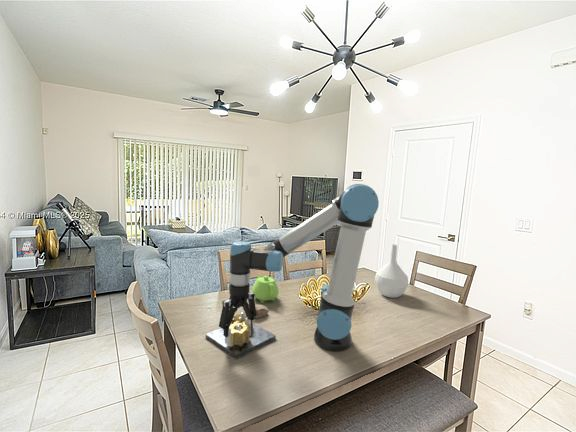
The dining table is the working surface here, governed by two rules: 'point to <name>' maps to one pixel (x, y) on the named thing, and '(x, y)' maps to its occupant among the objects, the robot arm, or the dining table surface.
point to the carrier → (255, 341)
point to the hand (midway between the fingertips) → (237, 339)
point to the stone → (260, 310)
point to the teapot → (265, 288)
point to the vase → (391, 278)
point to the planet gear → (240, 334)
